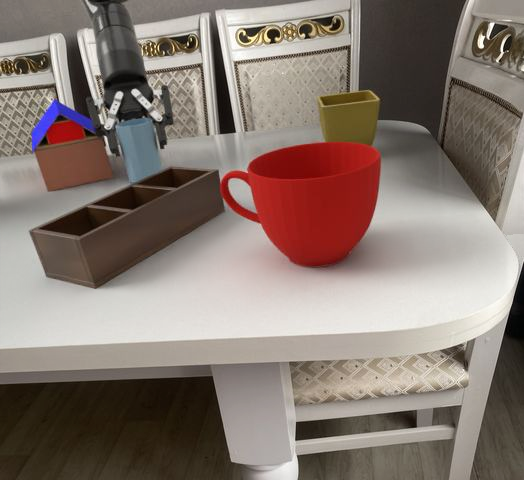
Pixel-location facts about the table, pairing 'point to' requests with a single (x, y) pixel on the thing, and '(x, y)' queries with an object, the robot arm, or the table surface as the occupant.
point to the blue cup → (139, 148)
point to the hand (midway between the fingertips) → (139, 150)
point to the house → (69, 149)
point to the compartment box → (127, 225)
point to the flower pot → (349, 117)
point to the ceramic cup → (312, 198)
